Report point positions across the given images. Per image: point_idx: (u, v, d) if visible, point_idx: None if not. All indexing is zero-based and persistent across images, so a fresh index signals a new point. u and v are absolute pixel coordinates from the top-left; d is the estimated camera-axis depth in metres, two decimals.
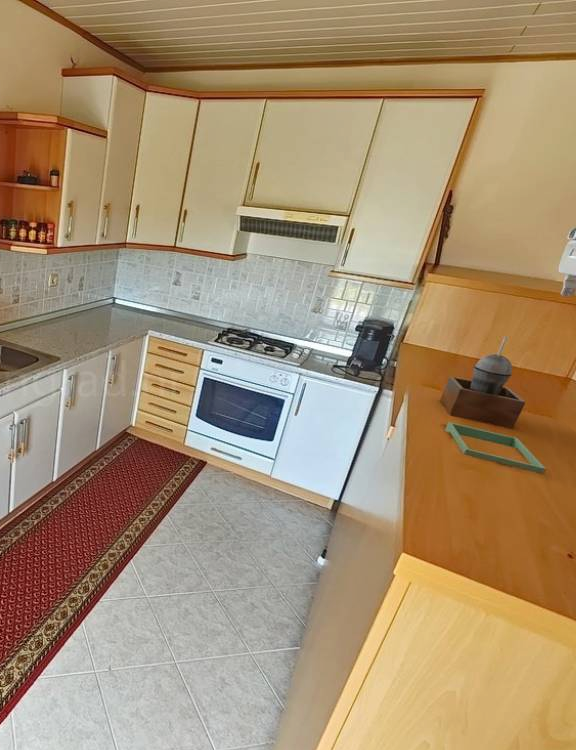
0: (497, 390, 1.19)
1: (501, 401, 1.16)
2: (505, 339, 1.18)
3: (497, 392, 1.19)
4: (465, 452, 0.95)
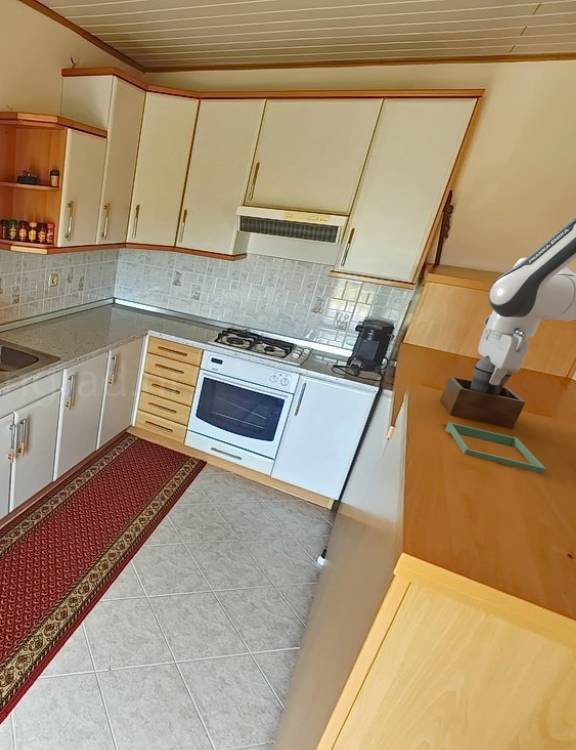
0: (497, 390, 1.19)
1: (501, 401, 1.16)
2: None
3: (497, 392, 1.19)
4: (465, 452, 0.95)
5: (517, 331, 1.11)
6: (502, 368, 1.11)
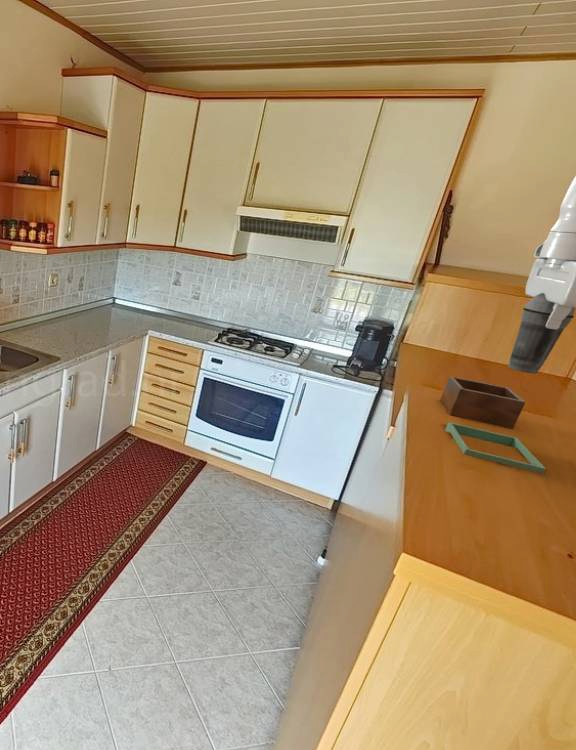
0: (555, 337, 0.92)
1: (501, 401, 1.16)
2: None
3: (554, 340, 0.92)
4: (465, 452, 0.95)
5: None
6: (566, 303, 0.84)
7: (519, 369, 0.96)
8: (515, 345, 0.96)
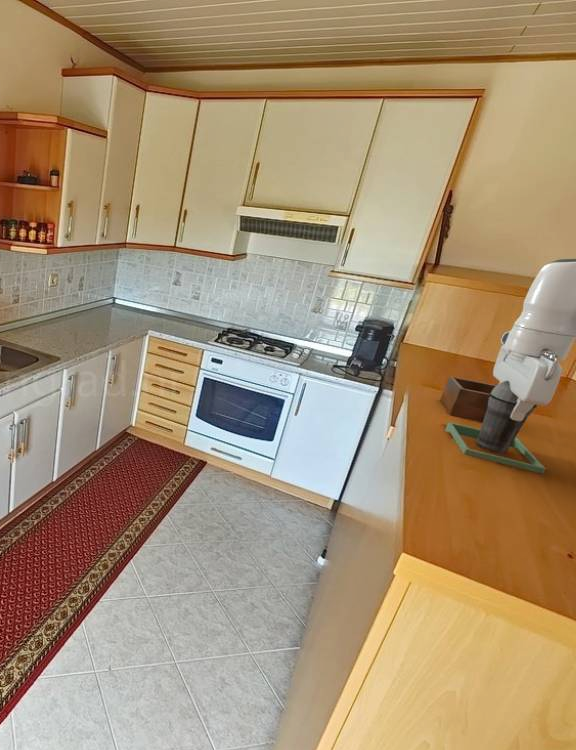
0: (519, 424, 0.94)
1: None
2: None
3: (518, 427, 0.95)
4: (465, 452, 0.95)
5: (546, 353, 0.87)
6: (527, 400, 0.87)
7: None
8: (482, 428, 0.99)
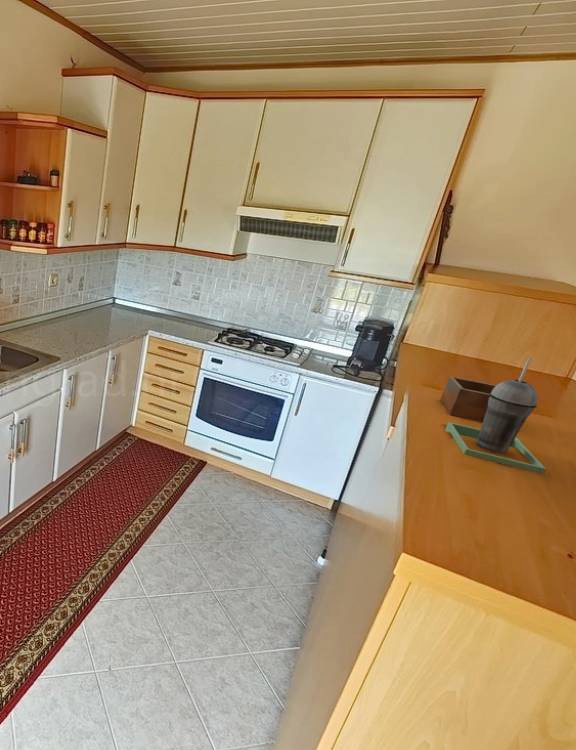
0: (519, 424, 0.94)
1: None
2: (529, 361, 0.94)
3: (518, 427, 0.95)
4: (465, 452, 0.95)
5: None
6: None
7: None
8: (482, 428, 0.99)
